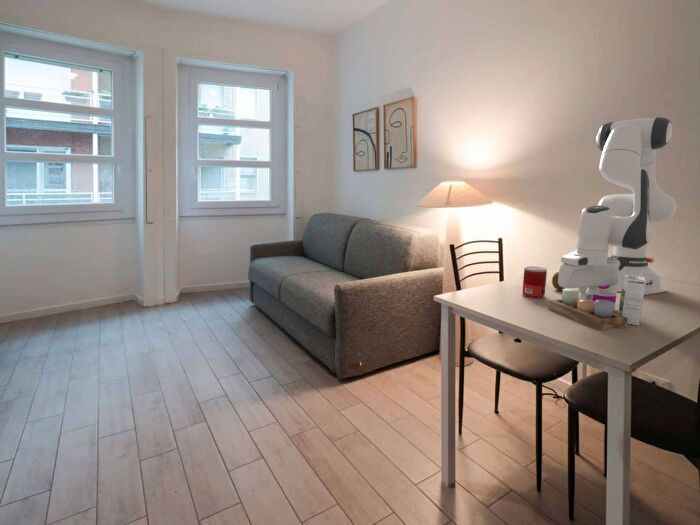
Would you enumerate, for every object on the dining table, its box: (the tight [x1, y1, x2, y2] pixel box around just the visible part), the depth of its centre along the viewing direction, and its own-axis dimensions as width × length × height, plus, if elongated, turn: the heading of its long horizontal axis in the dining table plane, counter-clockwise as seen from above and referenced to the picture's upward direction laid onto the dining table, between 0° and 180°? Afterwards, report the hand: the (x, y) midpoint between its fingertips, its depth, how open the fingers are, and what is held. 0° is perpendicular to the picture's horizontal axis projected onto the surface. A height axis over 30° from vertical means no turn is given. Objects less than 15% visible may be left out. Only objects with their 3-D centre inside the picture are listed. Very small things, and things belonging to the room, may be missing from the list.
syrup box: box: [617, 275, 646, 326], centre depth 126 cm, size 6×6×14 cm
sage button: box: [561, 288, 580, 306], centre depth 138 cm, size 5×5×5 cm
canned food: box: [522, 265, 548, 299], centre depth 157 cm, size 8×8×11 cm
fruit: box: [551, 271, 566, 291], centre depth 166 cm, size 6×6×8 cm
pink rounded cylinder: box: [577, 298, 595, 312], centre depth 132 cm, size 5×5×5 cm
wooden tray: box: [547, 298, 628, 331], centre depth 132 cm, size 10×22×3 cm, turn 12°
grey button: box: [594, 299, 614, 319], centre depth 125 cm, size 5×5×5 cm
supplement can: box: [588, 283, 618, 310], centre depth 140 cm, size 8×8×15 cm
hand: (586, 299), depth 131 cm, fingers closed
